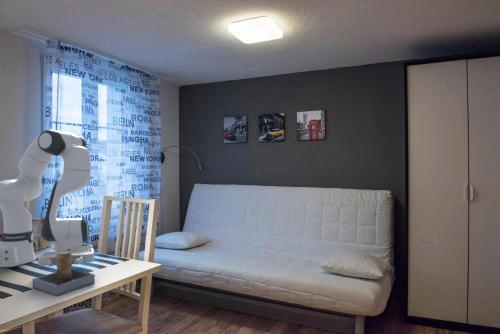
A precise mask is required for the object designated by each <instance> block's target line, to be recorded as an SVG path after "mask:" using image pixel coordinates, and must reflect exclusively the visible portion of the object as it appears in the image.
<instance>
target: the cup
mask: <svg viewBox="0 0 500 334" xmlns="http://www.w3.org/2000/svg"><path fill="white" fill-rule="evenodd" d="M67 241H68V240H64V241H53V242H50V246H49V249H51V250H53V251H54V252H59V250H60V249H61V248H62V246H63V245H64V244H65V243H66V242H67Z"/></svg>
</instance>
